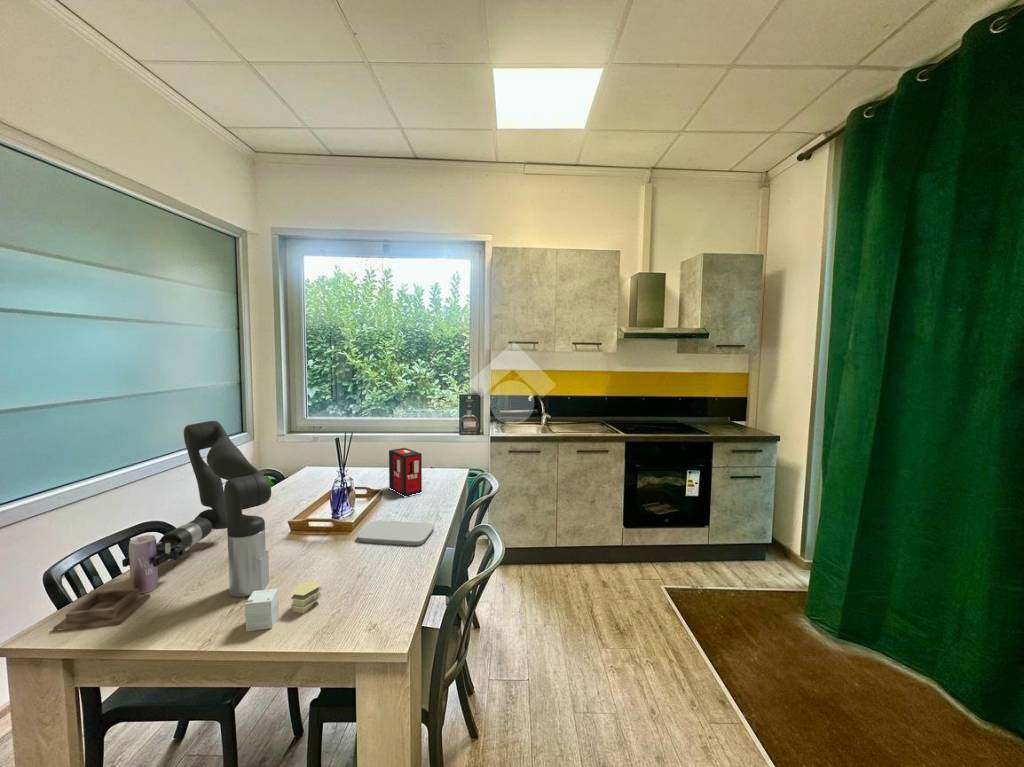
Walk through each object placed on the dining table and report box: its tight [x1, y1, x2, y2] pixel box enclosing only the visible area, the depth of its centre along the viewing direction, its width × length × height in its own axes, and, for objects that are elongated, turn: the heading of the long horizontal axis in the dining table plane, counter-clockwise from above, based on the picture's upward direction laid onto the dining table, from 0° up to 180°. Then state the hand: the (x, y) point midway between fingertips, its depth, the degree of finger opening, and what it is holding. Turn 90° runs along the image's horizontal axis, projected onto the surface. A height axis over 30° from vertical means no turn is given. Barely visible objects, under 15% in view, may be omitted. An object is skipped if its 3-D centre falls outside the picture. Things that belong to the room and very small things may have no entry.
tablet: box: [356, 519, 435, 546], centre depth 161 cm, size 16×26×2 cm, turn 83°
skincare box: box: [244, 588, 280, 632], centre depth 108 cm, size 6×6×7 cm
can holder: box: [53, 588, 151, 631], centre depth 111 cm, size 14×12×4 cm
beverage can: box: [128, 534, 159, 595], centre depth 122 cm, size 6×6×15 cm
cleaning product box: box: [388, 447, 423, 497], centre depth 212 cm, size 16×9×20 cm, turn 43°
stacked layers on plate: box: [290, 581, 323, 614], centre depth 116 cm, size 10×9×6 cm
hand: (138, 563), depth 121 cm, fingers open, 8 cm apart
